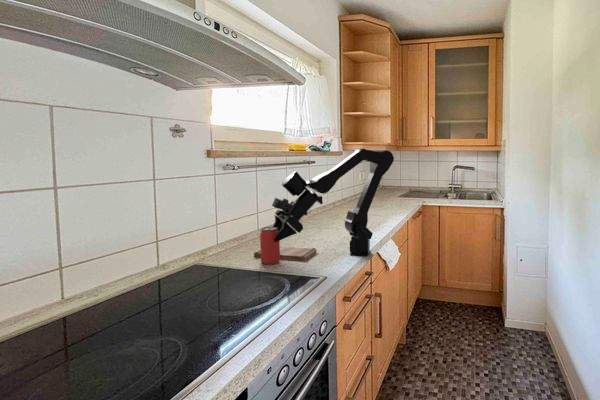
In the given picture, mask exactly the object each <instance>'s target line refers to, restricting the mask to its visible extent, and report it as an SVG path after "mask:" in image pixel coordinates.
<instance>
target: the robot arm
mask: <svg viewBox="0 0 600 400" xmlns="http://www.w3.org/2000/svg"><path fill="white" fill-rule="evenodd" d="M394 159H395V156H394V155H393V153H392V152H391V151H390V150H370V149H366V148H357V149H355V150H354V152H352V154H350V155H348V156H347V157H346V158H345V159H343V160H342V161H340V163H338V164H336V165H335V166H333V168H331V169H330V170H327V171H324V172H322V173H320V174H318V175H317V176H314V177H313V178H312V179H309V180H305V179H303V177H302V176H301V175H300V173H298V172H297V171H293V172H292V173H291V174H290V175H288V176H286V178H285V179H283V181H282V183H281V186H282V187H283V188H284V189H285V190H286V191H287V192H288V193H289V194H290V195H291V196H292V197H295V196H296V199H295V200H292V201H290V202H289V200H288V199H287V198H282V199H279V198H278V197H274V200H273V202H272V204H271V207H273V208H275V209H276V211H275V212H274V223H273V225H272V227H277V228H278V234H277V235H276V237H275V239H274V241H275V242H278V241H281V240H284V239H286V238H289V237H291V236H293V235H297V234H298V233H299V234H300V233H301V232H302V231H303V229H304V225H303V224H302V222H300V220H302V218H303V217H304V216H305V217H306V216H307V215H308V213H309V211H310V210H311V208H312V207H313V206H314V205H315V204H316V203H318V204H320V205H323V196H321V195H318V193H319V194H327V193H329V192H330V190H331V189H333V187H334V186H335V185H336V183H337V182H338V181H339V180H340V178H342V177H343V176H345V175H346V174H347V173H348V172H349V171H351V170H353V169H354V168H355V167H357V166H358V165H359V164H361V163H362V162H363V161H366V162H370V163H369V174H368V176H367V178H366V181H365V184H364V185H363V188H362V190H361V194H360V197H359V199H358V201H357V203H356V206H355V207H354V208H353V210H348V211H347V212H346V217H345V218H344V220H343V221H344V227H345V229H346V231H347V232H348V233H349V236H351V237H350V241H349V255H350V256H363V257H368V256H369V255H370V253H371V252H372V250H370V249H371V248H370V246H371V244H370V243H371V242H370V241H371V239H372V237H373V232H372V231H371V230H370V229H369V228H368V227H367V226H368V221H369V218H368V217H369V216H368V215H369V214H368V213H369V210H370V207H371V206H372V203H373V200H374V198H375V195H376V193H377V190H378V188H379V185H380V182H381V180H382V178H383V176H384V175H385V174H386V173H387V172H388V171H389V170H390V168H391V166H392V165H393V163H394V161H395V160H394ZM309 189H311V191H310V190H309Z"/></svg>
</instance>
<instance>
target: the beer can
mask: <svg viewBox="0 0 600 400" xmlns="http://www.w3.org/2000/svg"><path fill="white" fill-rule="evenodd" d="M277 234H278V228H277V227H273V226H264V227H262V228H261V230H260V234H259V241H260V245H259V246H260V250H261V257H260V262H261V263H262V264H263V265H277V264H278V263H280V261H281V259H280V247H281V245H280V241H281V240H280V241H278V242H275V241H274V239H275V237H276V235H277Z"/></svg>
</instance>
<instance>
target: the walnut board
mask: <svg viewBox="0 0 600 400" xmlns="http://www.w3.org/2000/svg"><path fill="white" fill-rule="evenodd" d="M317 253H318V252H317V248H315V247H313V248H312V247H311V248H308V247H307V248H305V247H293V246H292V247H291V246H280V260H288V261H289V260H290V261H301V262H306V261H308V260H309V259H310V258H311V257H313V256H314V255H316V254H317ZM253 257H254V258H261V249H259V250H257V251H255V252H253Z"/></svg>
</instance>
